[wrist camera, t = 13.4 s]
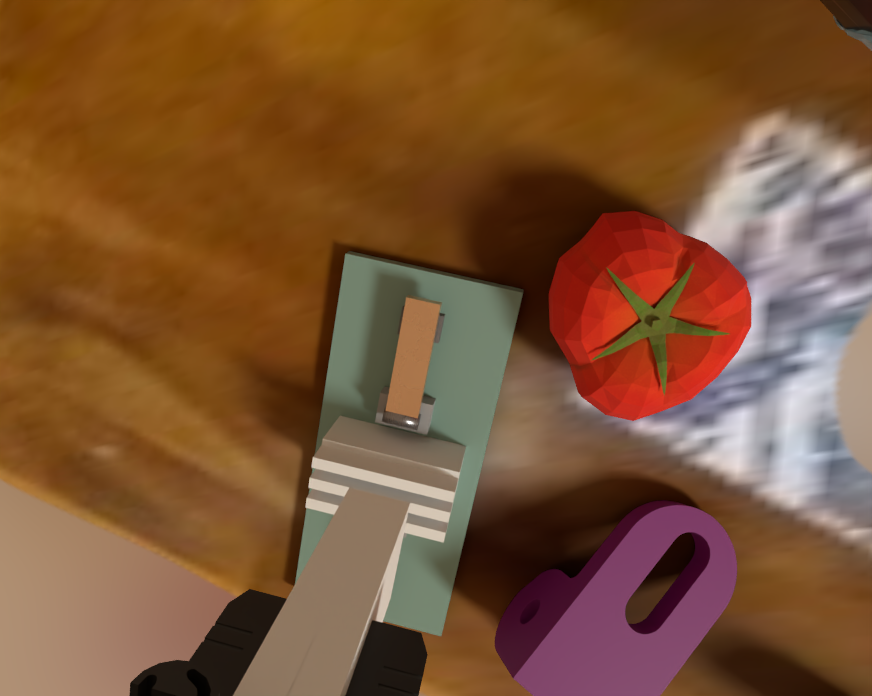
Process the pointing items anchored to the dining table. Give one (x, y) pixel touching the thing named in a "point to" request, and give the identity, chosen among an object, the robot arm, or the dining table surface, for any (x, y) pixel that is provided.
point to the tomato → (645, 314)
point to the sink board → (403, 447)
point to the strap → (412, 362)
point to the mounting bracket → (619, 610)
